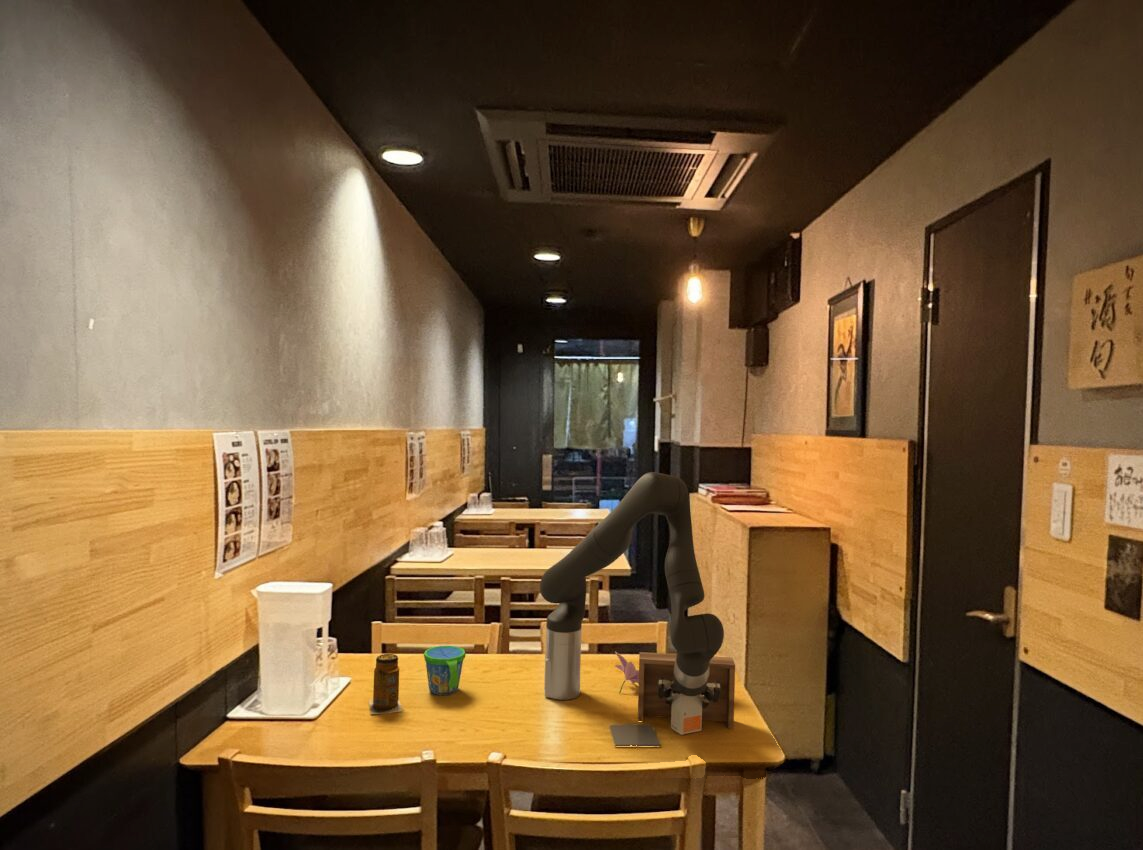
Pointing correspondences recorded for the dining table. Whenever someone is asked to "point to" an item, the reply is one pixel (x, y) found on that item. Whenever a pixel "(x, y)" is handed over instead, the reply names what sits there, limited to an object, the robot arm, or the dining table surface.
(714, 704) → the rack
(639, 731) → the coaster
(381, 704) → the condiment
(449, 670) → the snack cup
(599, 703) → the dining table surface
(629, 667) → the lily
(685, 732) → the skincare box
